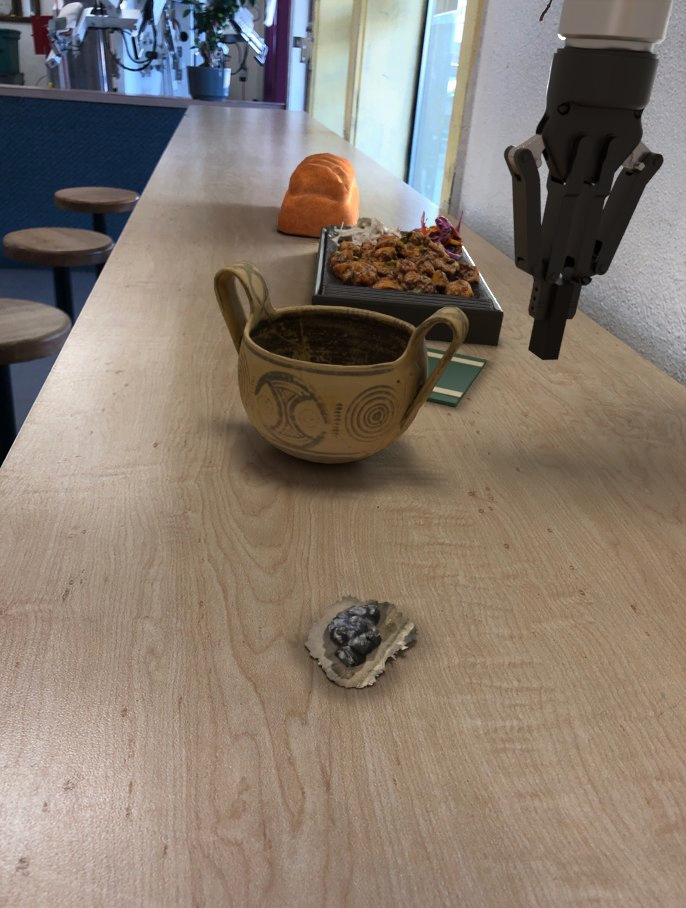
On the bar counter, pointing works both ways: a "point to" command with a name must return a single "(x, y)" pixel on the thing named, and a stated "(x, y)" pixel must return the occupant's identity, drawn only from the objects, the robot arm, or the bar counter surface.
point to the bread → (319, 196)
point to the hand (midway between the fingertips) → (542, 354)
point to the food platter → (405, 276)
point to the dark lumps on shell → (358, 639)
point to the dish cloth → (453, 376)
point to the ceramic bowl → (328, 370)
